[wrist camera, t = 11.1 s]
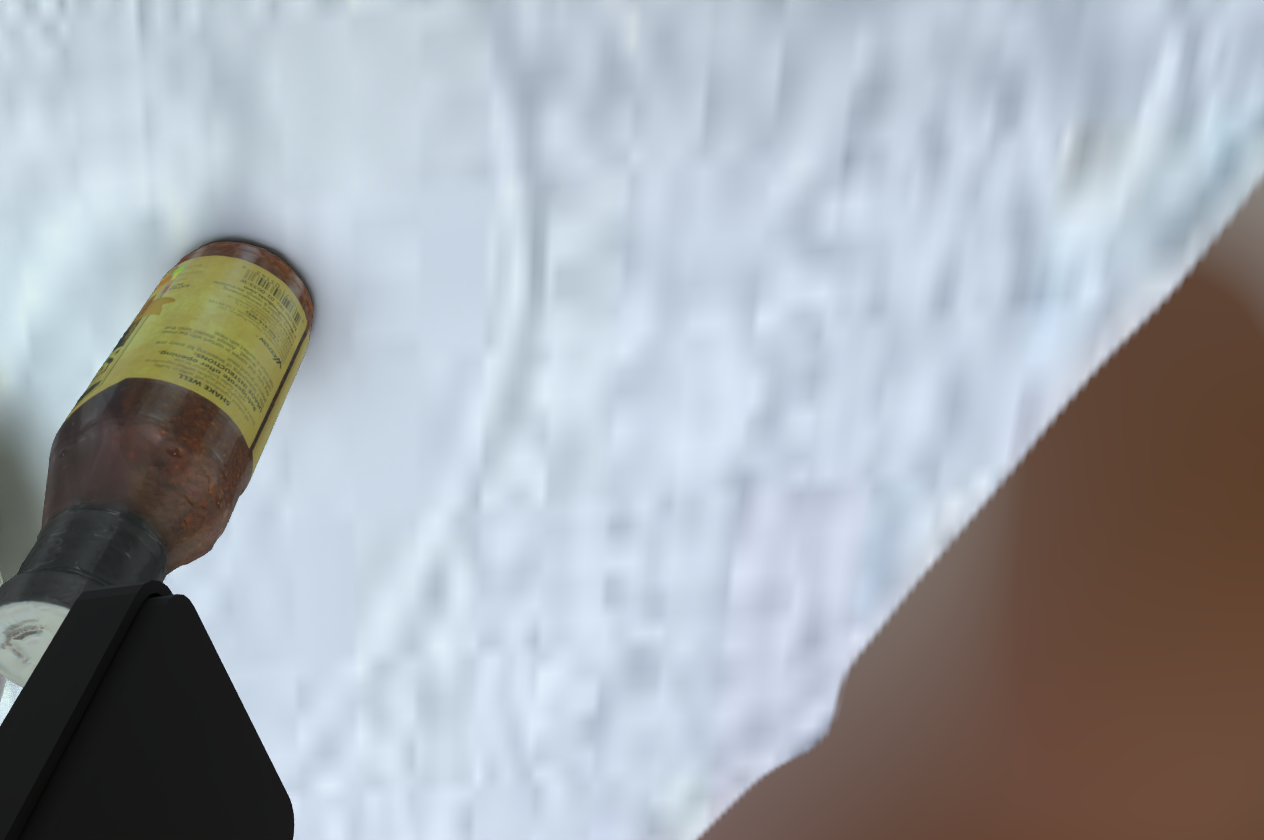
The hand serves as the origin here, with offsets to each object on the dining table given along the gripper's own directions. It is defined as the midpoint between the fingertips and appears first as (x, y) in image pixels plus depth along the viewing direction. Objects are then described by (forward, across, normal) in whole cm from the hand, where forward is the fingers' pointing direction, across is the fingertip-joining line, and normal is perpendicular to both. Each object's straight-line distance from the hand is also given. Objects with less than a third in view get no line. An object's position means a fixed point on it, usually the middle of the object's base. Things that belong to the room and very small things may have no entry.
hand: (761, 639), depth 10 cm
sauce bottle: (+36, +20, +13) cm, 44 cm away
